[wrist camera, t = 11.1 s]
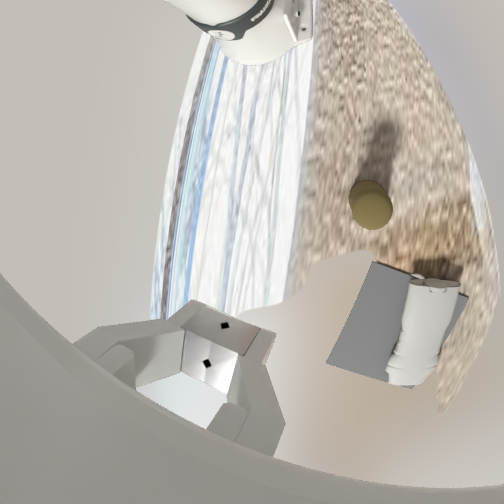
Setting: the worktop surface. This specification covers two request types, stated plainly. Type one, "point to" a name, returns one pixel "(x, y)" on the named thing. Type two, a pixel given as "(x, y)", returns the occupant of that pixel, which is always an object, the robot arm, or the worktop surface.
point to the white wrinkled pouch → (422, 330)
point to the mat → (378, 323)
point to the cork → (370, 205)
